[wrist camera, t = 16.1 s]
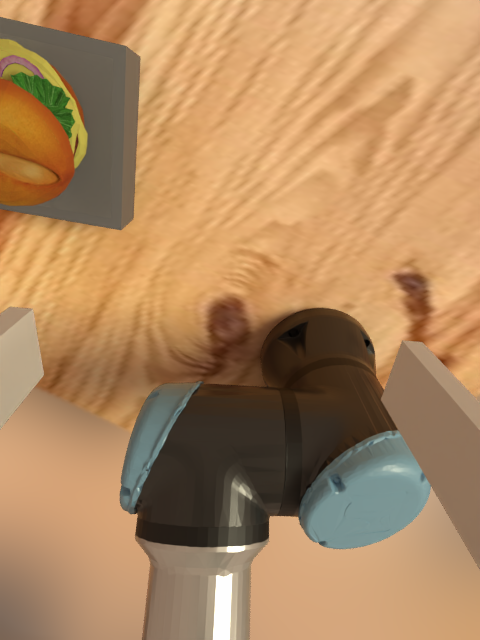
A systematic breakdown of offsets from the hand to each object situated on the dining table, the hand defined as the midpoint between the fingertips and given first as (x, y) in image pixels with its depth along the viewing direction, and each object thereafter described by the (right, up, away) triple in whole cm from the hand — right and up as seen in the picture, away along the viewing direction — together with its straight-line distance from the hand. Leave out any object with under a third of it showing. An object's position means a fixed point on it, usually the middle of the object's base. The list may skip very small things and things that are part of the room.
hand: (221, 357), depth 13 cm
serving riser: (-17, +20, +22) cm, 35 cm away
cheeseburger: (-17, +18, +18) cm, 31 cm away
